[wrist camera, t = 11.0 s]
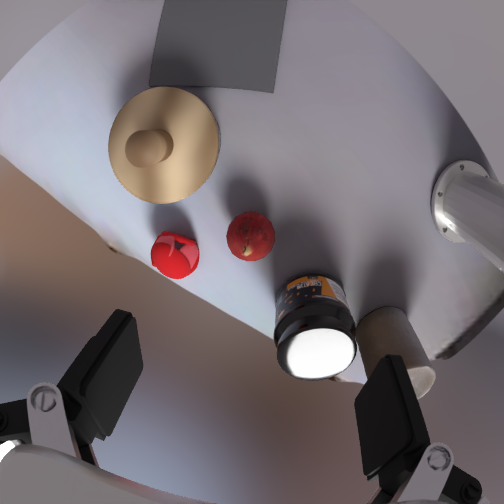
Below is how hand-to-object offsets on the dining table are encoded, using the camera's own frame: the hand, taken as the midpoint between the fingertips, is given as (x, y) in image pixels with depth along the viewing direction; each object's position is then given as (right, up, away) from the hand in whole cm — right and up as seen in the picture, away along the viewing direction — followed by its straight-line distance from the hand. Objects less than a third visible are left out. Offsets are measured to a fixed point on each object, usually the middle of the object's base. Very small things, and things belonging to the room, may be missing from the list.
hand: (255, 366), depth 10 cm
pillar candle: (+22, -9, +33) cm, 41 cm away
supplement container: (+9, -3, +32) cm, 33 cm away
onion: (0, +8, +28) cm, 29 cm away
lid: (-10, +16, +18) cm, 26 cm away
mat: (-4, +31, +17) cm, 36 cm away
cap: (-10, +5, +30) cm, 32 cm away
